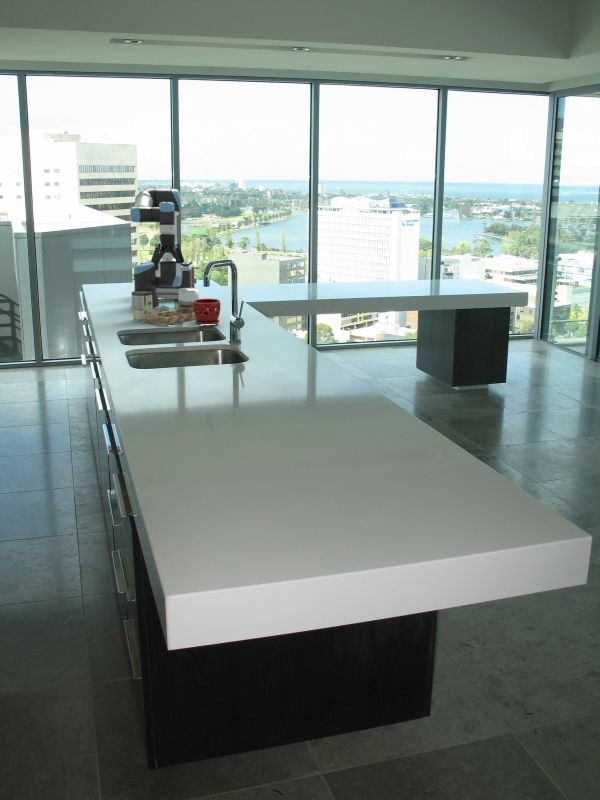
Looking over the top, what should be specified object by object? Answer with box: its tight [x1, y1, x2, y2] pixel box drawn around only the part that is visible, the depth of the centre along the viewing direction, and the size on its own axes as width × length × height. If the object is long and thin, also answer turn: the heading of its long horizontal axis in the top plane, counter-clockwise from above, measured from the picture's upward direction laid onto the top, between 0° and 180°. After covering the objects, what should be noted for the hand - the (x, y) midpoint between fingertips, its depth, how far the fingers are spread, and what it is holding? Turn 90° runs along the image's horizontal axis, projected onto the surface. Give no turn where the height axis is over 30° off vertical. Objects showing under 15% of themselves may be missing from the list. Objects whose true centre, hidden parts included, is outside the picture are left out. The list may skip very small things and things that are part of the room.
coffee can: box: [131, 290, 154, 323], centre depth 416 cm, size 10×10×14 cm
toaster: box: [140, 260, 200, 300], centre depth 495 cm, size 18×34×21 cm, turn 90°
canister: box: [177, 288, 199, 314], centre depth 421 cm, size 10×10×14 cm
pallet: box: [144, 308, 197, 327], centre depth 417 cm, size 30×16×4 cm, turn 142°
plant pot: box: [193, 298, 221, 325], centre depth 405 cm, size 13×13×12 cm
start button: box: [160, 304, 170, 312], centre depth 426 cm, size 4×4×4 cm
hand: (168, 276), depth 422 cm, fingers open, 13 cm apart
